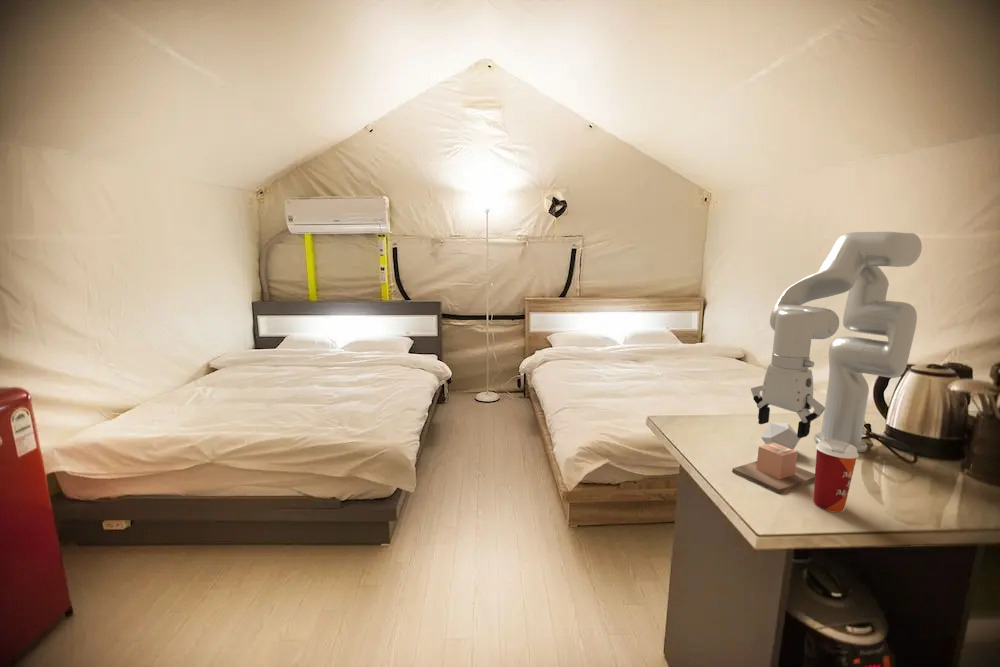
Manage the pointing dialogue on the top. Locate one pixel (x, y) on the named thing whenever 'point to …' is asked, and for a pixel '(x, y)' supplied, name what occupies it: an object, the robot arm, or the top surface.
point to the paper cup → (833, 473)
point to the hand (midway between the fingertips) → (782, 429)
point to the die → (780, 435)
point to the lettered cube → (776, 460)
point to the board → (772, 482)
